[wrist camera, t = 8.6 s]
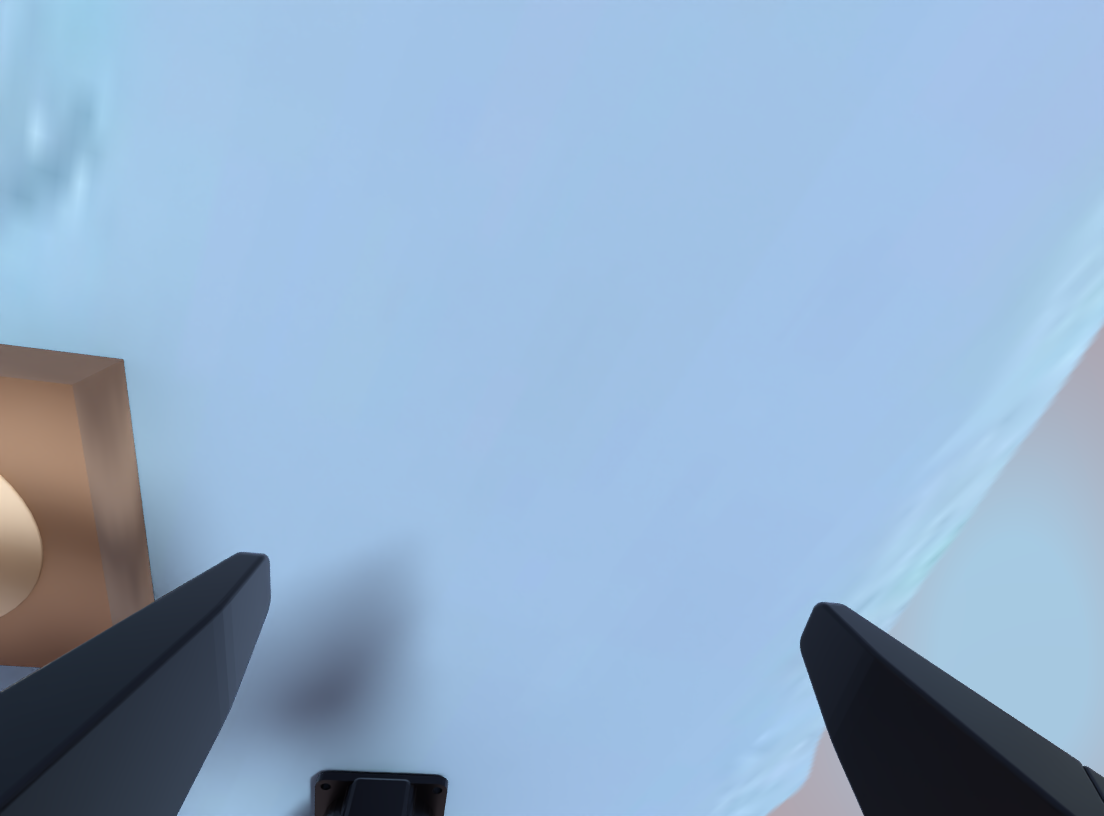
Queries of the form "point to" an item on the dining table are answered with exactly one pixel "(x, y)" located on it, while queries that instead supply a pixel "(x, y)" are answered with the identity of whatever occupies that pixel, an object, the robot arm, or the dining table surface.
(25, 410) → the walnut plinth
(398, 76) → the dining table surface
